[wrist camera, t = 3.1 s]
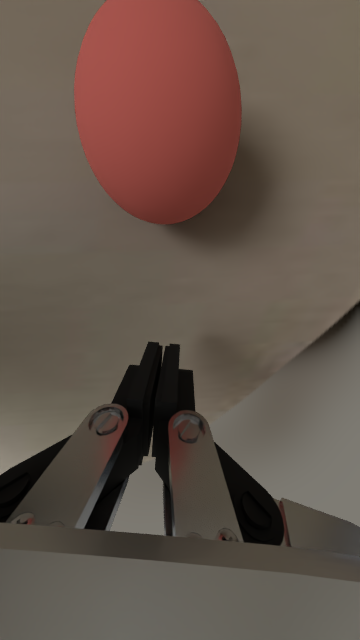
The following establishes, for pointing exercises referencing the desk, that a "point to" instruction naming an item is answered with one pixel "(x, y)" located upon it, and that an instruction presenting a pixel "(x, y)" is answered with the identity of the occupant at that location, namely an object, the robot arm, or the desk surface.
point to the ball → (158, 106)
